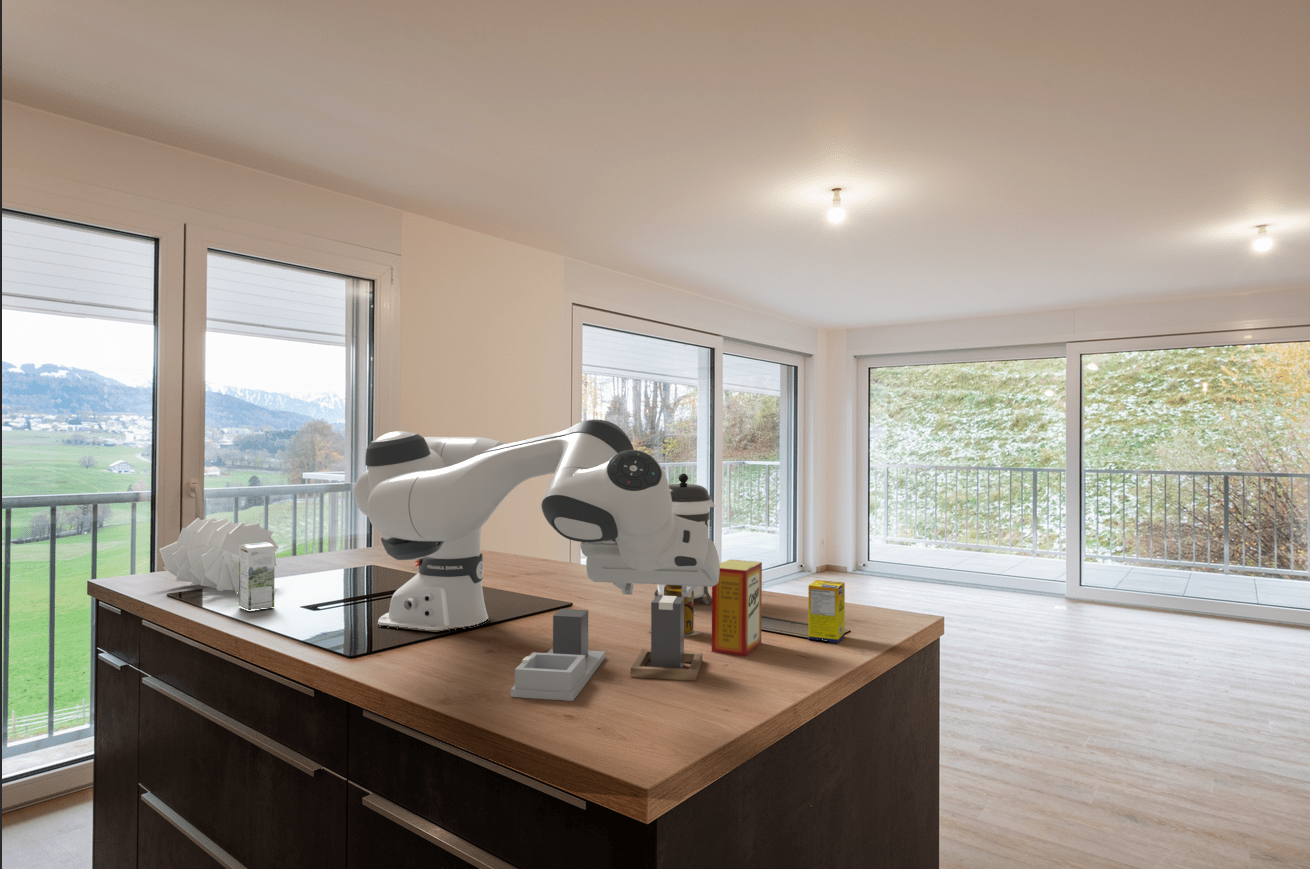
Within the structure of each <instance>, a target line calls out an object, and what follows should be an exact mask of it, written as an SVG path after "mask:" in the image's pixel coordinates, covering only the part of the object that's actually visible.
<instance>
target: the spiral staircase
mask: <svg viewBox="0 0 1310 869" xmlns="http://www.w3.org/2000/svg"><path fill="white" fill-rule="evenodd" d="M273 532H274V531H272V530H268V529H266V528H263V527H261V524H260V522H256V523H250V524H248V521H247V522H246V521H245V522H239V523H234V522H232V520H229V521H228V517H225V518H222V519H219V520H217V517H216V516H215V517H211V518H205V519H201V518H200V517H197V518H196V519H195V520H193V521H192V522H191V523H190V524H189V525H188V526H186V527H182V529H181V530H180V534H179V536H178V538H177V540H176V541H175V542H172V543H171V544H168V545H166V546H164V547H162V548H159V550H158V551H159V554H160V556H161V559H162V561H163V563H164V566H163V567H162V568H163V569H164V570H165V571H167V572H168V573H170V574H171V575H172V576H174V577H175V582H183V583H184V582H185V583H186V582H187V583H189V582H190V583H191V585H194V586H198V585H200V586H203V587H209V588H215V589H216V590H219V591H220V590H223V591H234V593H237V592H239V545H245V544H254V543H263V542H267V543H270V544H272V545H273V546H274V547H275V552H276V551H277V550H278V549H280V548H279V546H278V545H277V543H276V541H275V540H274V539H273V538H272V535H273ZM274 558H275V560H274V568H275V567H277V561H276V556H275V557H274ZM219 591H218V592H219ZM220 592H221V591H220Z"/></svg>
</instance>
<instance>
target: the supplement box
mask: <svg viewBox="0 0 1310 869" xmlns="http://www.w3.org/2000/svg"><path fill="white" fill-rule="evenodd" d="M845 586H846V585H845V582H844V581H833V580H820V579H815V580H814V581H813V582H811V583H809V584H808V590H807V591H808V596H807V598H808V601H807V603H808V606H807V607H808V608H807V609H808V610H807V611H808V613H807V614H808V615H807V616H808V618H807V619H808V620H807V621H808V622H807V623H808V627H807V628H808V630H807V631H808V633H807V634H808V640H809V639H812V640H811V641H813V639H814V640H815V639H818V640H822V639H823V640H827V641H829V642H828V643H832V644H839V643H840V642H841V641H842V639H843V638H844V637H845V630H846V628H845V625H846V624H845V623H846V619H845V617H846V615H845V612H846V609H845V605H846V604H845V602H846V601H845V600H846V598H845V597H846V596H845V593H846V592H845V590H846V589H845V588H846V587H845Z"/></svg>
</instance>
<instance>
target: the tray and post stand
mask: <svg viewBox="0 0 1310 869" xmlns="http://www.w3.org/2000/svg"><path fill="white" fill-rule="evenodd" d="M605 659H606V651H605V650H590V649H589V610H588V609H574V608H560V609H559V610H558V611H557V612H556V613H555V614H553V615H552V648H550V649H549V650H548V651H547V652H534V651H533V652H531V653H530V654H529V655H528V656H527V655H526V656H525V657H524V658H523V659H522V660H521V663H520V664H519V665H518V666H517V667H516V668H515V669H514V685H513V686H512V687H511V688H510V697H511V698H522V699H539V700H550V701H551V700H553V701H554V700H557V701H569V702H573V701H574V700H575V699H576V697H578V695H579V693H580V692H581V691H582V690H583V689H584V687H585V686H586V685H587V683H588V682H589V680H590V679H591V678H592V676H593V675H594V674H595V673H596V671H597V669H598V668H599V667H600V666H601V664H602V663H603V662H604V660H605Z"/></svg>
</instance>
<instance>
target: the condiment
mask: <svg viewBox="0 0 1310 869" xmlns="http://www.w3.org/2000/svg"><path fill="white" fill-rule="evenodd" d="M681 589H682V585H666V586H665V587H664V596H677V597H682V594H681ZM694 600H695V599H694V590H693V591H692V596H691V597H684V637H690V636H696V635H700V634H702V632H701V631H697V630H695V629H694V624H695V622H694V621H695V619H694V617H695V615H694V614H695V613H694V612H695V611H694V610H695V607H694V606H695V604H694V602H695V601H694ZM647 631H648V632H650V633H651V628H650V629H647Z"/></svg>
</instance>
